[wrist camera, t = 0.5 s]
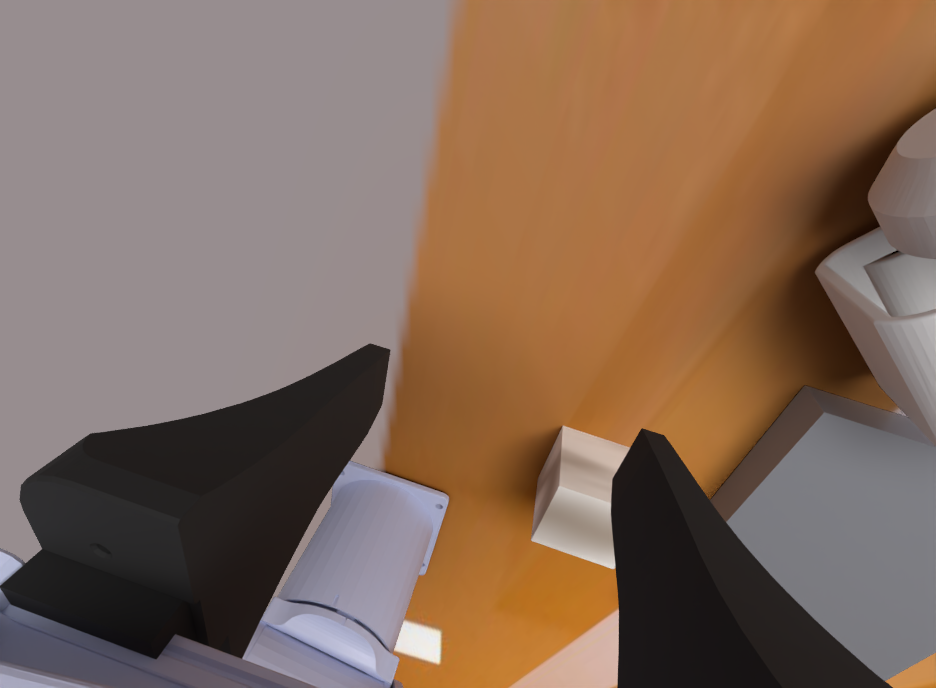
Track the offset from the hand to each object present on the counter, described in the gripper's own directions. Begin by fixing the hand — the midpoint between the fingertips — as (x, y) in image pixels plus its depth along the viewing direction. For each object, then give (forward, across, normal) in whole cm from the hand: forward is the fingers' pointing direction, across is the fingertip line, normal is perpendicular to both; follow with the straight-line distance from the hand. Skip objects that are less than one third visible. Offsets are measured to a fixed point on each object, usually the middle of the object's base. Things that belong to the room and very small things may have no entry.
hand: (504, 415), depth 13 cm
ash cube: (+10, -6, +10) cm, 16 cm away
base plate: (+10, -20, +10) cm, 25 cm away
